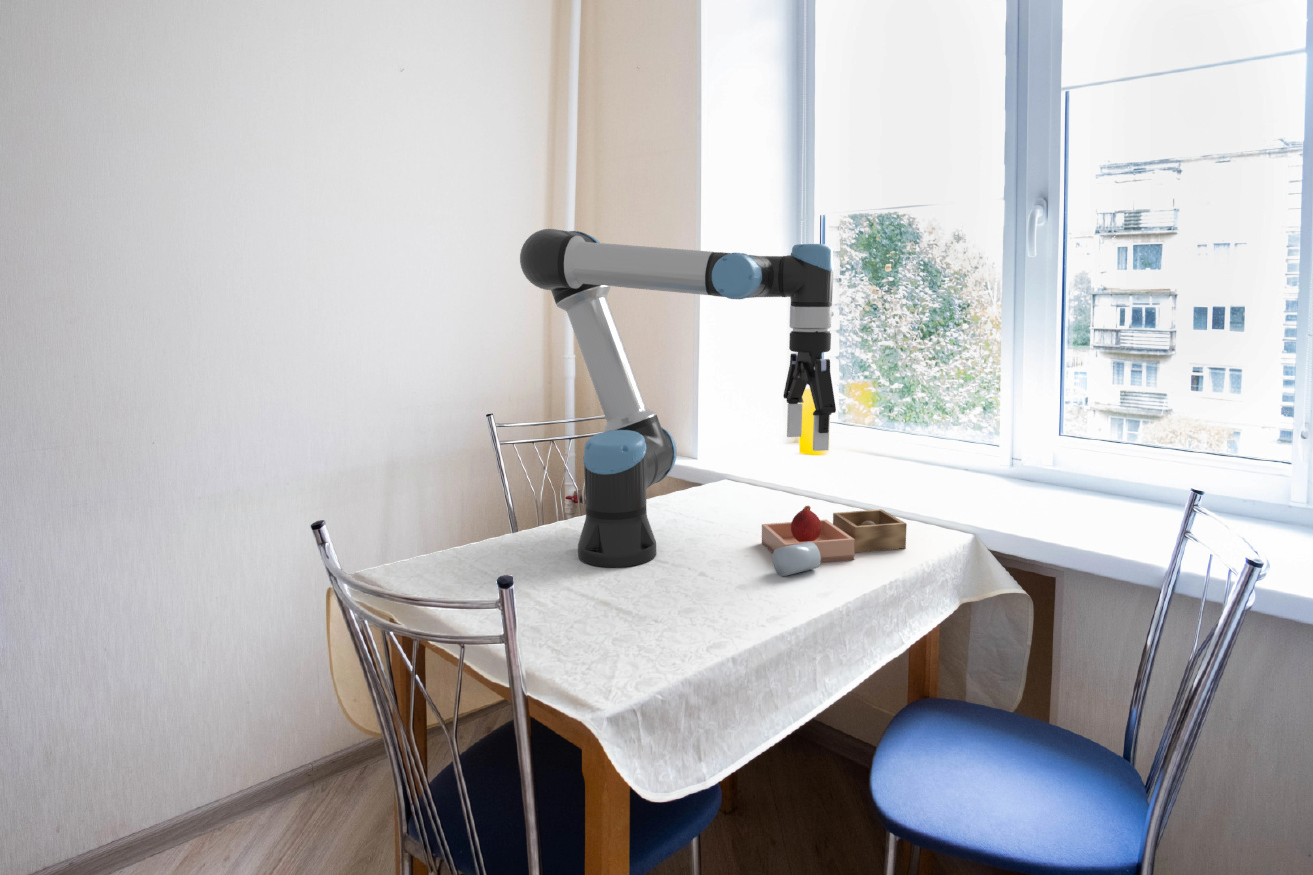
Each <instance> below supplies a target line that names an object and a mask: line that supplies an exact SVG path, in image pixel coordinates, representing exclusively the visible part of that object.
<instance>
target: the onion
mask: <svg viewBox="0 0 1313 875" xmlns="http://www.w3.org/2000/svg"><path fill="white" fill-rule="evenodd" d="M820 520H821V519H820V518H819V517H818V515H817V514H816V513H815V512H813V511H812V510H811V506H810V505H805V506H804V507H803V509H801V510H800V511H799V512H797V513H796V515H795V516H793V518H792V521H791V522H792V523H791V533H792V535H793V536H794V538H795V539H796V540H797V541H799V542H808V541H815V540H816V539H817V538H818V537H819V536H820V534H821V529H822V526H821V522H820Z"/></svg>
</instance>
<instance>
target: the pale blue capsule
mask: <svg viewBox="0 0 1313 875" xmlns="http://www.w3.org/2000/svg"><path fill="white" fill-rule="evenodd" d="M820 560H821V557H820V552H819V549H818V548H817V546H816V545H815V544H814V543H813V542H810V541H809V542H804V543H799V544H795V545H790V546H786V547H781V548H777V549H775V550H774V552H773V554H772V556H771V561H772V566H773V568H774V571H775V572H776V573H777V574H778V575H779V576H780V577H786V576H790V575H794V574H799V573H802V572H807V571H812V570H815V569H818V567H819V566H820V564H821V563H820Z"/></svg>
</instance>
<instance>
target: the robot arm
mask: <svg viewBox="0 0 1313 875" xmlns="http://www.w3.org/2000/svg"><path fill="white" fill-rule="evenodd" d="M519 264H520V268H521V271H522V273H523V275H524V276H525V278H526V279H527V280H528V281H529V283H531V284H532V285H533V286H535V287H537V288H539V289H542V290H546V291H551V294H552V297H553V300H554V302H555V304H556V307H557V308H559V309H561V310H563V311H565V312H566V313H567V316H568V319H569V322H570V325H571V327H572V330H573V333H574V336H575V338H576V341H577V344H578V346H579V349H580V352H581V355H582V357H583V361H584V363H585V365H586V369H587V371H588V374H589V376H590V379H591V381H592V385H593V388H594V390H595V392H596V395H597V399H598V401H599V403H600V406H601V409H602V412H603V415H604V417H605V420H606V425H605V426H604V429H603V430H602V431H603V432H599V433H595V434H594V435H592V436H591V437H589V438H588V439H587V440H586V442H585V443H584V446H583V447H584V448H583V449H584V450H583V451H584V452H583V458H582V462H583V470H584V471H583V473H584V496H585V520H584V523H583V527H582V530H581V533H580V537H579V540H578V544H577V557H578V559H579V561H581V562H583V563H585V564H587V565H591V566H595V565H596V567H601V568H603V567H604V568H622V567H623V568H624V567H632V566H637V565H642V564H645V563H647V562H650V561H651V560H653V559H655V557H656V556H657V541H656V538H655V536H654V532H653V530H652V527H651V524H650V521H649V519H648V515H647V489H648V488H649V487H651V486H652V485H655V484H656V483H657V484H658V483H659V482H661V481H663V479H665V478H666V477H667V475H668V474H669V473H670V472H671V471H672V469H673V468H674V466H675V463H676V462H677V461H676V460H677V444H676V442H675V439H674V437H673V435H672V433H670V432H669V431H668V430H667V429H665V428H664V427H662V426H661V422H660V420H659V417H658V415H657V413H656V412H655V411H653V410H650V409H649V408H648V407H646V403H645V401H644V397H643V395H642V392H641V388H640V386H639V385H638V381H637V379H636V375H635V372H634V370H633V367H632V364H631V361H630V359H629V357H628V354H627V351H626V348H625V346H624V343H623V340H622V338H621V337H622V336H621V334H620V332H619V329H618V326H617V323H616V321H615V317H614V315H613V311H612V309H611V307H610V303H609V302H608V294H609V292H610V290H611V287H613V288H614V287H617V288H627V289H637V290H646V291H647V290H648V291H659V292H669V293H670V292H671V293H679V294H681V293H682V294H692V295H701V296H713V297H721V298H727V299H730V300H744V299H749V298H754V299H755V298H790V306H789V328H791V329H792V330H791V331H790V332H789V349H788V350H790V352H793V353H791V354H790V356H789V357H790V358H789V360H790V361H789V367H788V371H787V372H788V373H787V376H786V381H785V386H784V389H783V390H784V391H783V399H786V404H787V419H786V420H787V421H786V422H787V423H786V437H787V438H799V437H802V429H803V428H802V427H803V426H802V424H803V423H802V422H803V403H804V402H805V401H804V398H803V396H804V394H805V391H806V387H807V385H808V386H809V389H810V390H809V391H810V393H811V397H812V401H813V405H814V409H815V410H814V411H813V412H812V416H813V426H812V428H813V429H812V430H813V433H812V434H813V435H812V451H814V452H820V451H822V452H823V451H829V447H830V446H829V443H830V419H831V417H830V416H831V415H832V414H834V413H835V414H836V411H837V409H836V408H837V407H836V406H837V405H836V402H835V395H834V394H835V393H834V387H833V381H832V375H831V359H829V358H823V355H822V354H823V353H827V352H830V351H831V348H832V347H831V346H832V333H831V332H830V330H829V329H831V328H832V317H833V316H834V311H833V308H832V307H833V293H834V292H833V291H834V290H833V289H834V288H833V287H834V273H835V269H834V249H833V247H832V246H831V245H829V244H826V243H803V244H800V243H799V244H794V245H793V246H792V249H791V253H790V254H787V255H781V256H780V255H779V256H778V255H777V256H776V255H754V254H753V255H752V254H747V253H743V252H742V253H741V252H721V251H720V252H718V251H717V252H716V251H710V250H709V251H707V250H693V249H683V248H682V249H680V248H667V247H657V246H656V247H655V246H654V247H653V246H645V245H644V246H641V245H630V244H629V245H628V244H616V243H603V242H600V241H599V240H598V239H596V238H595V237H594V236H592V235H589V234H587V233H585V232H582V231H577V230H562V229H557V228H556V229H555V228H544V229H541V230H537V231H536V232H533V233H532V234H530V236H528V238H527V239H526V240H525V241H524V242H523V244H522V248H521V249H520V253H519ZM828 330H829V331H828Z"/></svg>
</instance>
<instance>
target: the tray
mask: <svg viewBox="0 0 1313 875" xmlns="http://www.w3.org/2000/svg"><path fill="white" fill-rule="evenodd" d="M819 520H820V522H821V526H822V529H821V534H820V536H819V537H818V538H817V539H816V540H815V541H810V542H813V543H814V544H815V545H816V546H817V548H818V549H819V552H820V557H821V560H820V564H821V563H831V562H843V561H854V560H855V552H854V546H855V539H853V538H852V537H851V536H849V535H848V534H846V533H845V532H843V531H842V530H841V529H839V528H838V527H836V526H835V525H833V522H831V521H829V520H827V519H819ZM791 523H792V521H790V522H789V521H788V522H786V521H785V522H772V523H762V524H761V544H762V546H764V547H765V548H766V549H767V551H769V552H770V553H771V554H772V555H773V552H774V550H775V549H777V548H781V547H786V546H790V545H795V544H799V543H804V542H799V541H797V540H796V539H795V538H794V536H793V535H792V533H791ZM808 542H809V541H808Z"/></svg>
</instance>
